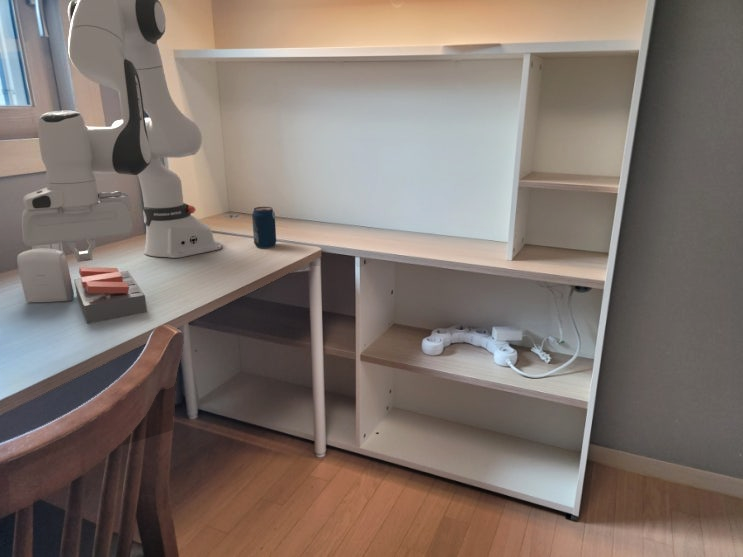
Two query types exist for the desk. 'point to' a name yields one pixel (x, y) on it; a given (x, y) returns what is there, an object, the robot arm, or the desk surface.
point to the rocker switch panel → (111, 301)
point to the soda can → (264, 227)
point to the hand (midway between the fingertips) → (84, 260)
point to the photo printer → (45, 275)
